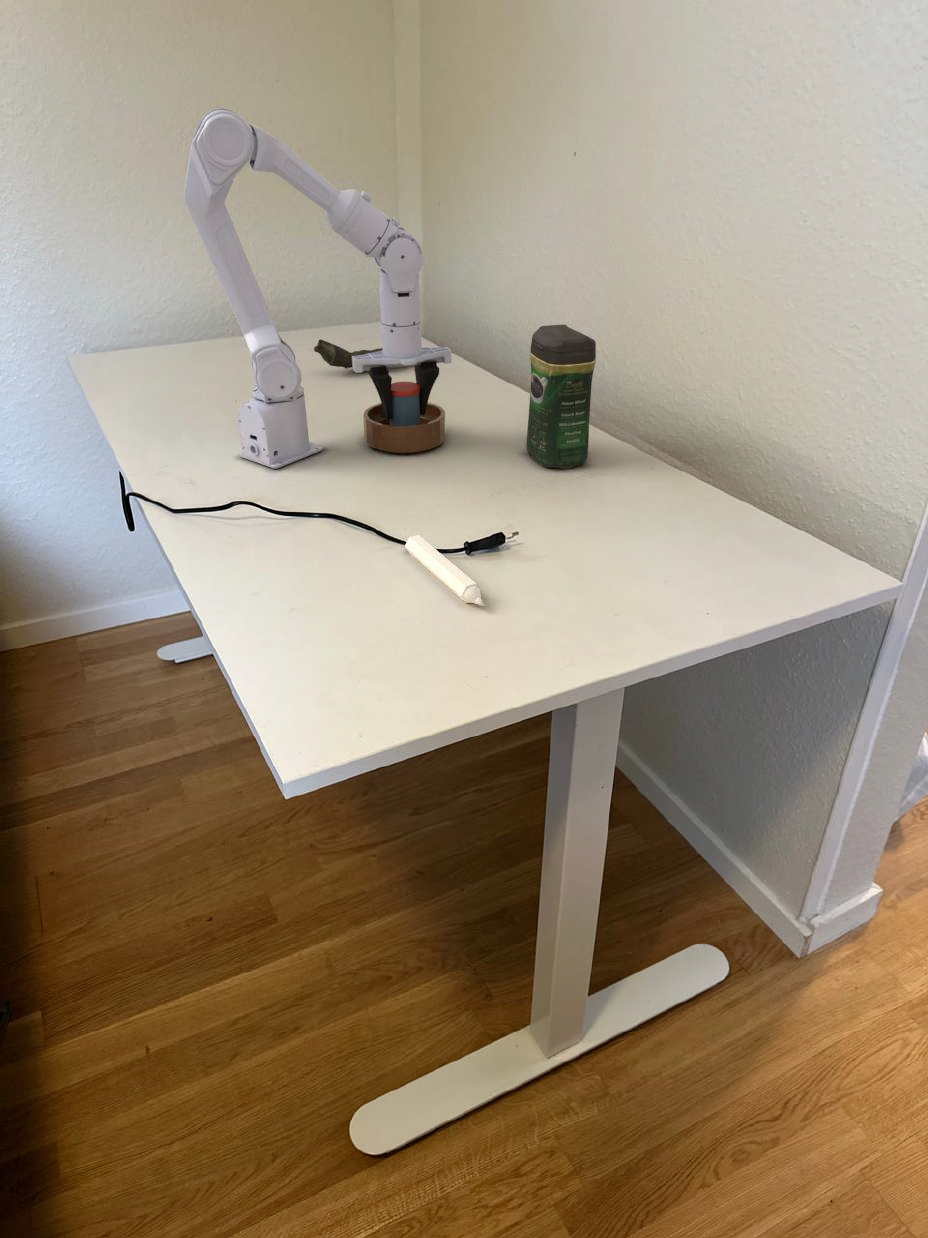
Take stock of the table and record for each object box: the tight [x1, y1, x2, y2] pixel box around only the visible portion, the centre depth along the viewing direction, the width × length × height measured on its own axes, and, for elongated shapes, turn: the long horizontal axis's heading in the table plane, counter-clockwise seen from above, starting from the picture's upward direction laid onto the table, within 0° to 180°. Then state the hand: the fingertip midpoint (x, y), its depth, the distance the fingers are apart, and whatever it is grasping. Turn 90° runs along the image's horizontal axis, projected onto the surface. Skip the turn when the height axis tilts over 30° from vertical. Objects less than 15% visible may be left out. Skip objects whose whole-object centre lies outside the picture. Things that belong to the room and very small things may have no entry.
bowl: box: [362, 401, 446, 454], centre depth 130 cm, size 12×12×4 cm
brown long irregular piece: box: [313, 338, 382, 373], centre depth 161 cm, size 6×6×20 cm
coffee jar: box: [525, 324, 597, 469], centre depth 120 cm, size 10×8×19 cm
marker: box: [404, 534, 485, 608], centre depth 94 cm, size 3×2×16 cm
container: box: [390, 381, 420, 426], centre depth 128 cm, size 5×5×6 cm
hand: (404, 414), depth 129 cm, fingers closed on container, 5 cm apart
